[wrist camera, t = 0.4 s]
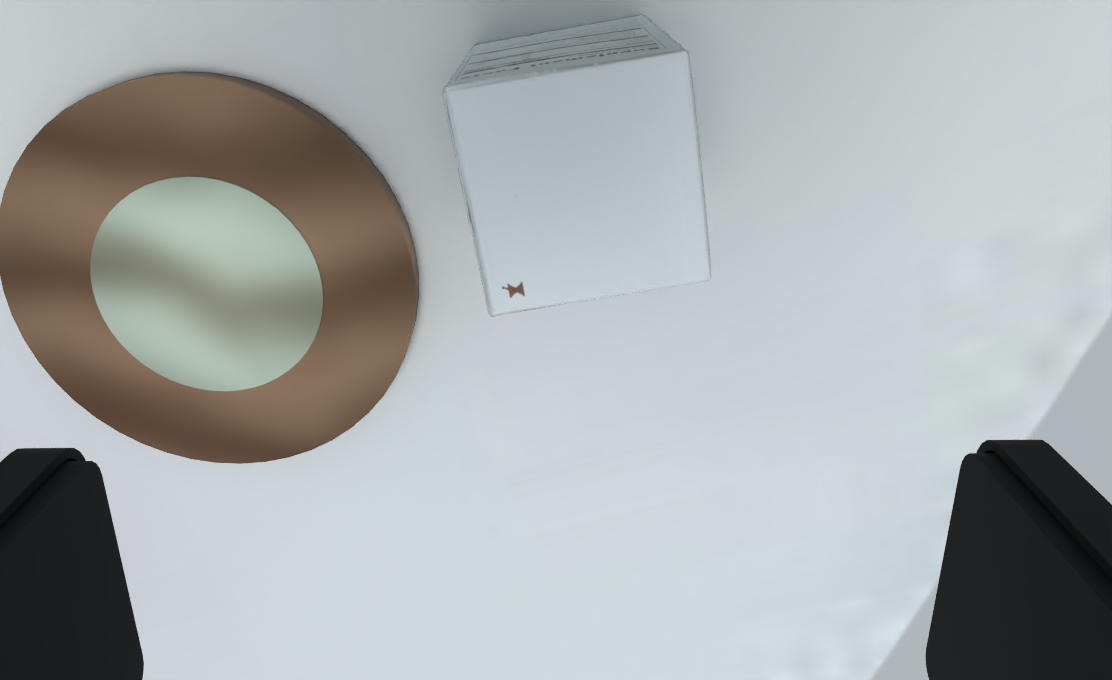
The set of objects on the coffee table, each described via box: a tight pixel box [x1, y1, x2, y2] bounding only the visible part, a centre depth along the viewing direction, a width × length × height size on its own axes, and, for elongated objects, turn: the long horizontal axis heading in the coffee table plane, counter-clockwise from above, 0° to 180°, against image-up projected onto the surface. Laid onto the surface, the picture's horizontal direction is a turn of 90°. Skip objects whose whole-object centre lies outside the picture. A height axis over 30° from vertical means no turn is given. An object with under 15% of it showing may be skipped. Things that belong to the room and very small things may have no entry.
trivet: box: [0, 72, 419, 463], centre depth 41 cm, size 18×18×2 cm
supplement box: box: [443, 15, 711, 317], centre depth 33 cm, size 7×7×13 cm
